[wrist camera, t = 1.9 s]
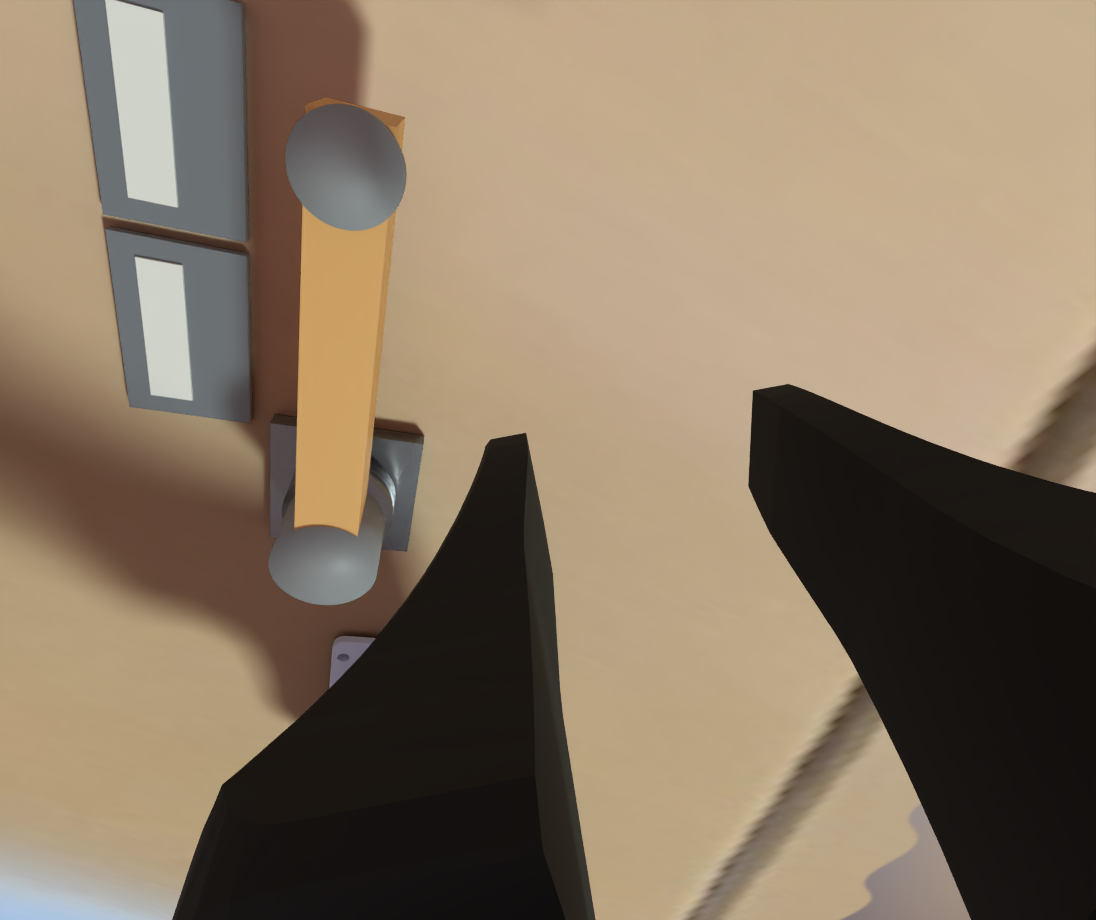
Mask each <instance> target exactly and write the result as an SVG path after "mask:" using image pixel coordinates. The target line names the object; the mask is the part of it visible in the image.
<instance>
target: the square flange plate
mask: <svg viewBox="0 0 1096 920" xmlns="http://www.w3.org/2000/svg"><path fill="white" fill-rule="evenodd" d="M423 442H424V435H418V434H411V433H404V432H397V431H390V430H382V429H375V428H374V430H373V440H372V450H371V460H370V469H369V479H368V489H367V494H369V495H370V496H371V497H372V498H374V499H375V500H376V502H377V503H378V504H379V506H380V507H381V509H382V511H383V514H384V517H385V529H384V535H383V541H382V547H381V549H386V550H396V551H406V552H407V548H408V541H409V534H410V528H411V521H412V515H413V508H414V502H415V495H416V489H417V482H418V476H419V469H420V463H421V456H422V450H423ZM296 443H297V417H291V416H284V415H277V414H274V416H273V418H272V420H271V422H270V538H276V537H277V534H278V531H279V529H280V526H281V524H282V521H283V518H284V516H285V513H286V511H287V508H288V506H289V504H290V502H291V500H292V499H293V498H294V496H295V483H296Z"/></svg>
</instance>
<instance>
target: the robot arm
mask: <svg viewBox="0 0 1096 920" xmlns="http://www.w3.org/2000/svg"><path fill="white" fill-rule="evenodd" d="M749 489H750V491H751V493H752V495H753V498H754V500H755V502H756V504H757V507H758V509H759V511H760V513H761V515H762V517H763V520H764V522H765V524H766V526H767V528H768V530H769V532H770V534H771V535H772V537H773V539H774V540H775V542H776V543H777V545H778V547H779V548H780V550H781V551H782V553H783V554H784V556H785V557H786V559H787V561H788V562H789V564H790V565H791V567H792V568H793V570H794V571H795V573H796V574H797V576H798V577H799V579H800V580H801V582H802V584H803V585H804V587H805V588H806V590H807V591H808V593H809V594H810V596H811V597H812V599H813V600H814V602H815V603H816V605H817V606H818V608H819V609H820V611H821V612H822V614H823V615H824V617H825V619H826V620H827V622H828V623H829V625H830V626H831V628H832V629H833V631H834V632H835V634H836V635H837V637H838V639H839V640H840V642H841V644H842V645H843V647H844V649H845V650H846V652H847V654H848V655H849V657H850V659H851V661H852V662H853V664H854V666H855V668H856V670H857V672H858V674H859V676H860V678H861V680H862V682H863V684H864V686H865V688H866V690H867V692H868V694H869V696H870V698H871V699H872V701H873V703H874V705H875V707H876V709H877V711H878V713H879V715H880V717H881V719H882V721H883V723H884V726H885V728H886V730H887V732H888V734H889V736H890V738H891V740H892V742H893V744H894V746H895V748H896V750H897V752H898V755H899V757H900V759H901V761H902V763H903V765H904V767H905V769H906V771H907V773H908V775H909V778H910V780H911V782H912V784H913V786H914V789H915V791H916V793H917V795H918V798H919V800H920V802H921V804H922V806H923V808H924V811H925V813H926V815H927V817H928V820H929V822H930V824H931V826H932V829H933V831H934V833H935V835H936V837H937V840H938V842H939V844H940V846H941V849H942V851H943V853H944V856H945V858H946V861H947V863H948V865H949V868H950V870H951V872H952V875H953V877H954V880H955V882H956V885H957V887H958V889H959V891H960V894H961V896H962V899H963V901H964V904H965V906H966V908H967V911H968V913H969V916H970V918H971V920H1096V493H1093V492H1089V491H1085V490H1081V489H1077V488H1073V487H1069V486H1065V485H1061V484H1058V483H1054V482H1050V481H1047V480H1043V479H1040V478H1037V477H1033V476H1030V475H1026V474H1023V473H1020V472H1016V471H1013V470H1009V469H1006V468H1003V467H999V466H996V465H993V464H990V463H987V462H984V461H981V460H978V459H975V458H972V457H969V456H966V455H964V454H961V453H958V452H955V451H953V450H950V449H947V448H944V447H942V446H939V445H936V444H934V443H931V442H928V441H926V440H923V439H921V438H918V437H916V436H913V435H910V434H908V433H905V432H903V431H901V430H898V429H896V428H893V427H891V426H889V425H886V424H884V423H881V422H879V421H877V420H874V419H872V418H870V417H867V416H865V415H863V414H860V413H858V412H856V411H854V410H851V409H849V408H847V407H844V406H842V405H840V404H837V403H835V402H833V401H831V400H828V399H826V398H824V397H821V396H819V395H816V394H814V393H812V392H809V391H807V390H804V389H801V388H799V387H796V386H793V385H790V384H786V385H781V386H776V387H770V388H765V389H759V390H754V391H753V401H752V422H751V444H750V465H749ZM172 920H595V914H594V908H593V902H592V896H591V890H590V883H589V877H588V871H587V865H586V859H585V853H584V846H583V840H582V834H581V828H580V821H579V815H578V809H577V803H576V796H575V790H574V784H573V777H572V771H571V765H570V758H569V752H568V746H567V739H566V733H565V726H564V720H563V713H562V703H561V694H560V681H559V665H558V649H557V633H556V616H555V601H554V585H553V572H552V567H551V561H550V555H549V549H548V544H547V538H546V532H545V526H544V521H543V516H542V511H541V506H540V501H539V496H538V491H537V486H536V481H535V476H534V471H533V466H532V461H531V456H530V451H529V446H528V440H527V435H526V433H523V434H518V435H512V436H507V437H501V438H496V439H491V440H490V441H489V442H488V444H487V445H486V446H485V450H484V454H483V457H482V460H481V463H480V466H479V468H478V471H477V474H476V476H475V478H474V481H473V483H472V486H471V488H470V490H469V492H468V495H467V497H466V499H465V501H464V503H463V505H462V507H461V510H460V512H459V514H458V516H457V518H456V520H455V522H454V524H453V525H452V527H451V529H450V531H449V533H448V534H447V536H446V538H445V540H444V541H443V543H442V545H441V547H440V549H439V550H438V552H437V554H436V556H435V557H434V559H433V560H432V562H431V564H430V565H429V567H428V568H427V570H426V572H425V573H424V575H423V576H422V578H421V579H420V581H419V582H418V583H417V585H416V586H415V588H414V589H413V591H412V592H411V593H410V595H409V596H408V598H407V599H406V600H405V602H404V603H403V605H402V606H401V607H400V608H399V610H398V611H397V612H396V613H395V615H394V616H393V617H392V619H391V620H390V621H389V622H388V624H387V625H386V626H385V627H384V629H383V630H382V631H381V633H380V634H379V635H378V636H377V637H376V638H370V637H355V636H341V637H338V638H336V639H335V640H334V643H333V647H332V658H331V671H330V684H329V689H328V690H327V691H326V692H325V693H324V694H323V695H322V696H321V697H320V698H319V699H318V700H317V701H316V702H315V703H314V704H313V705H312V706H311V707H310V708H309V709H308V710H307V711H306V712H305V713H304V714H303V715H302V716H301V717H300V718H298V719H297V720H296V721H295V722H294V723H293V724H292V725H291V726H290V727H288V728H287V729H286V730H285V731H284V732H283V733H282V734H280V735H279V736H278V737H277V738H276V739H275V740H274V741H273V742H271V743H270V744H269V745H268V746H267V747H266V748H265V749H263V750H262V751H261V752H260V753H259V754H258V755H257V756H255V757H254V758H253V759H252V760H251V761H250V762H249V763H247V764H246V765H245V766H244V767H243V768H242V769H241V770H239V771H238V772H237V773H236V774H235V775H233V776H232V777H231V778H230V779H229V780H227V781H226V782H225V783H224V784H223V785H222V786H221V789H220V791H219V794H218V796H217V799H216V801H215V804H214V806H213V808H212V810H211V813H210V815H209V817H208V819H207V822H206V824H205V826H204V828H203V831H202V834H201V836H200V839H199V842H198V845H197V847H196V850H195V853H194V856H193V859H192V862H191V865H190V868H189V871H188V874H187V877H186V880H185V883H184V886H183V889H182V892H181V895H180V898H179V901H178V904H177V907H176V910H175V913H174V916H173V919H172Z"/></svg>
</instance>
